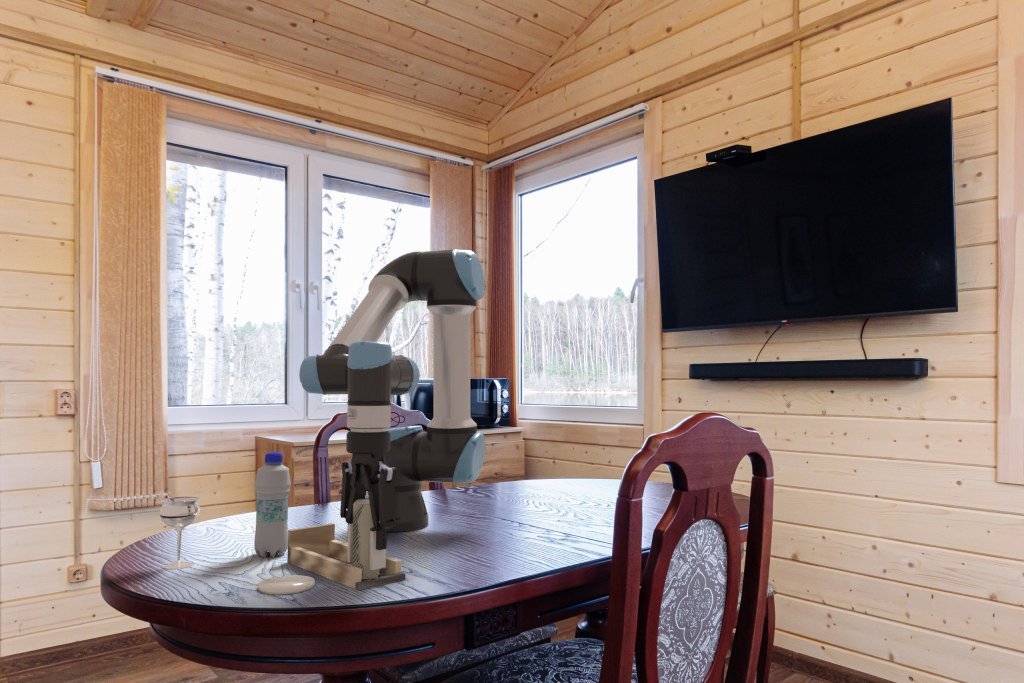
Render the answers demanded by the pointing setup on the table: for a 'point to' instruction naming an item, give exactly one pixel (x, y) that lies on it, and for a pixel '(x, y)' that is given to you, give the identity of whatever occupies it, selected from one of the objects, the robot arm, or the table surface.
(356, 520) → the box
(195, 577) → the table surface
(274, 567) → the table surface
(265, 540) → the bottle
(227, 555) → the table surface
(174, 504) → the wineglass
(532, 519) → the table surface
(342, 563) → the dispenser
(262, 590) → the coaster
